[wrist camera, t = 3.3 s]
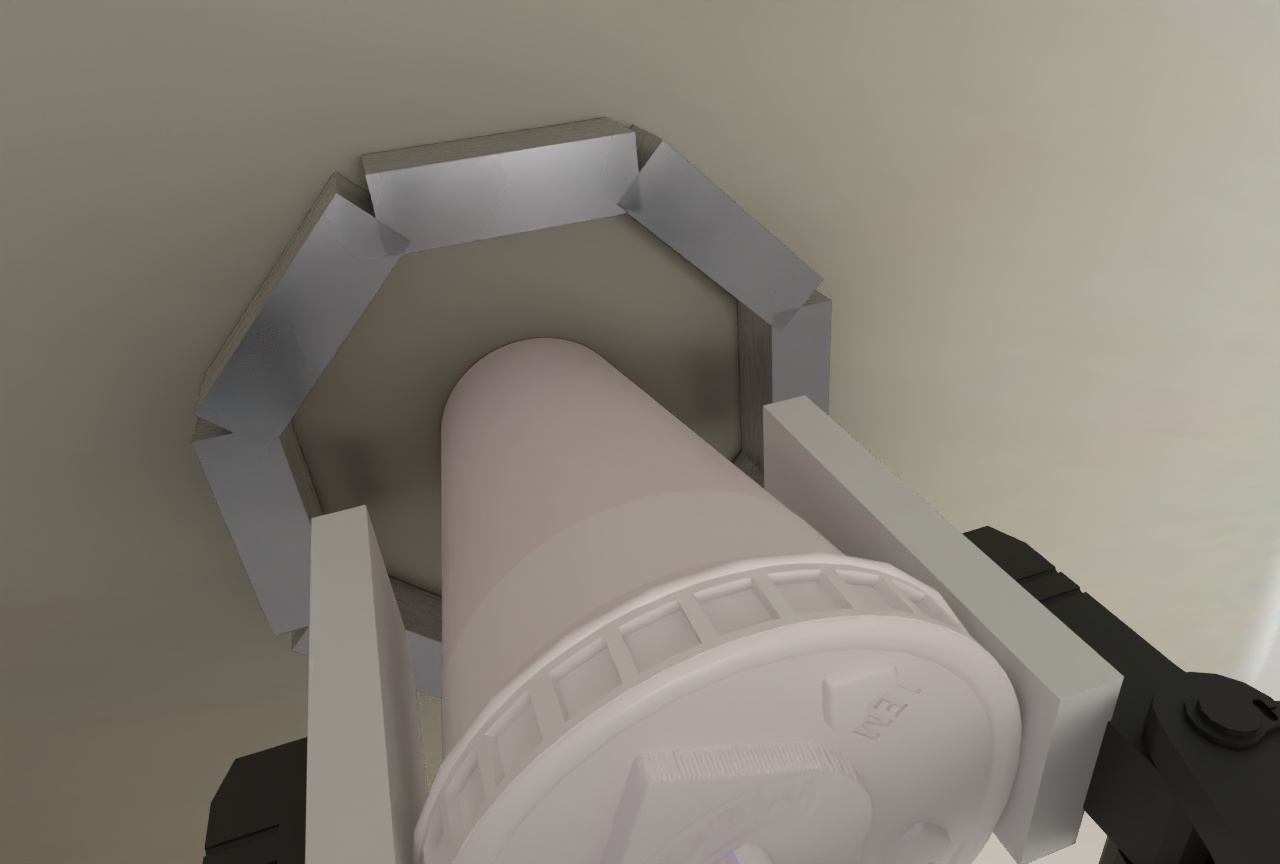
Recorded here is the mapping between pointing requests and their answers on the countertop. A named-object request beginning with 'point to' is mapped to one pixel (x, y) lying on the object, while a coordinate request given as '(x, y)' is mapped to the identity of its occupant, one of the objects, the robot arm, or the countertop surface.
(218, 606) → the countertop surface
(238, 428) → the collar
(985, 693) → the smoothie
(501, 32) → the countertop surface
